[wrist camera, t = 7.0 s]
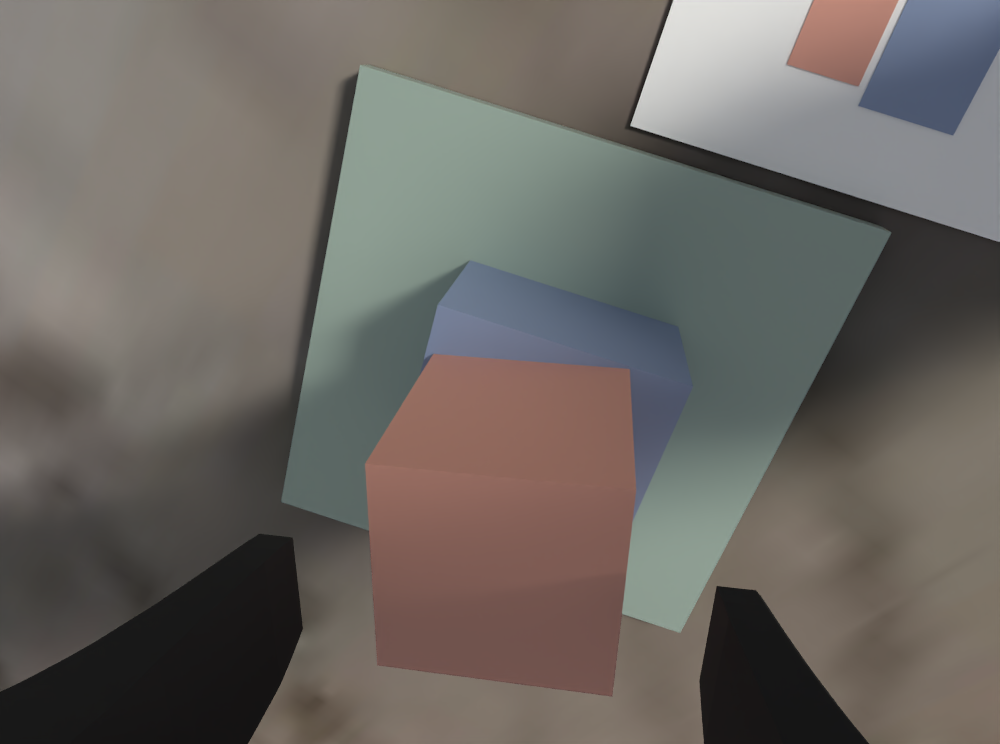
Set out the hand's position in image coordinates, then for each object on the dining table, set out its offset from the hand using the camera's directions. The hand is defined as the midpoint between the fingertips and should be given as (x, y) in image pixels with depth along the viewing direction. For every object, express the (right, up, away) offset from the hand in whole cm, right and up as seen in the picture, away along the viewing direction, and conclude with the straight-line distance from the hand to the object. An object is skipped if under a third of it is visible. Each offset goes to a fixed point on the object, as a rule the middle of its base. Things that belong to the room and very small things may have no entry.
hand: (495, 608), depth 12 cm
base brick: (+1, +4, +9) cm, 10 cm away
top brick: (+1, +2, +5) cm, 6 cm away
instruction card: (+9, +12, +5) cm, 16 cm away
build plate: (+1, +4, +10) cm, 10 cm away
